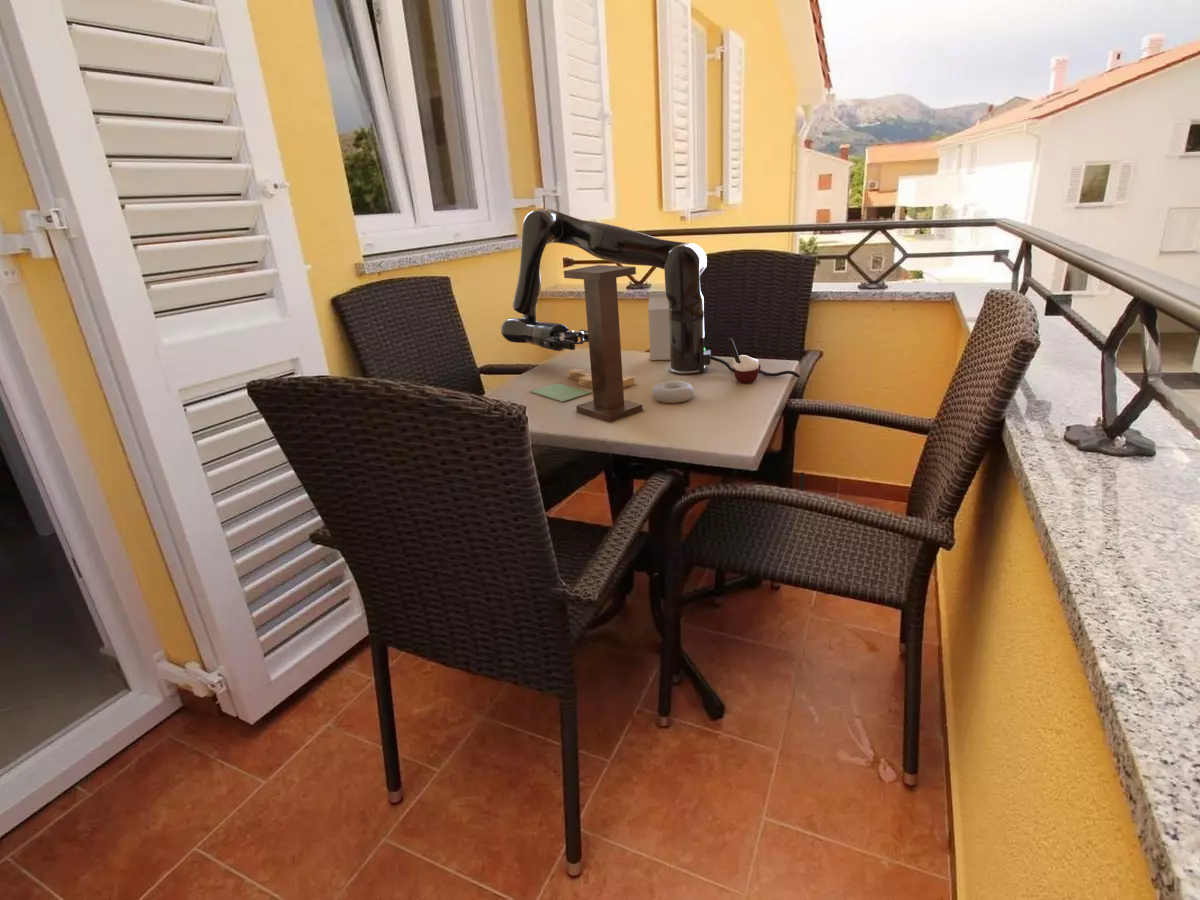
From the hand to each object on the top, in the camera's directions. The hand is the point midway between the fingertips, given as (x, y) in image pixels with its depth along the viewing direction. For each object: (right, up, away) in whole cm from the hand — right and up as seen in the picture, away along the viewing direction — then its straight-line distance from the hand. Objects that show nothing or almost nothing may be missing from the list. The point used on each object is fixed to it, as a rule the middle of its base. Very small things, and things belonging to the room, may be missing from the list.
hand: (586, 342), depth 167 cm
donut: (+21, -16, -16) cm, 31 cm away
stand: (+6, -20, -22) cm, 30 cm away
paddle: (+3, -11, +1) cm, 11 cm away
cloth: (-7, -14, -5) cm, 16 cm away
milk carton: (+23, -1, +21) cm, 31 cm away
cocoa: (+40, -11, -8) cm, 43 cm away
